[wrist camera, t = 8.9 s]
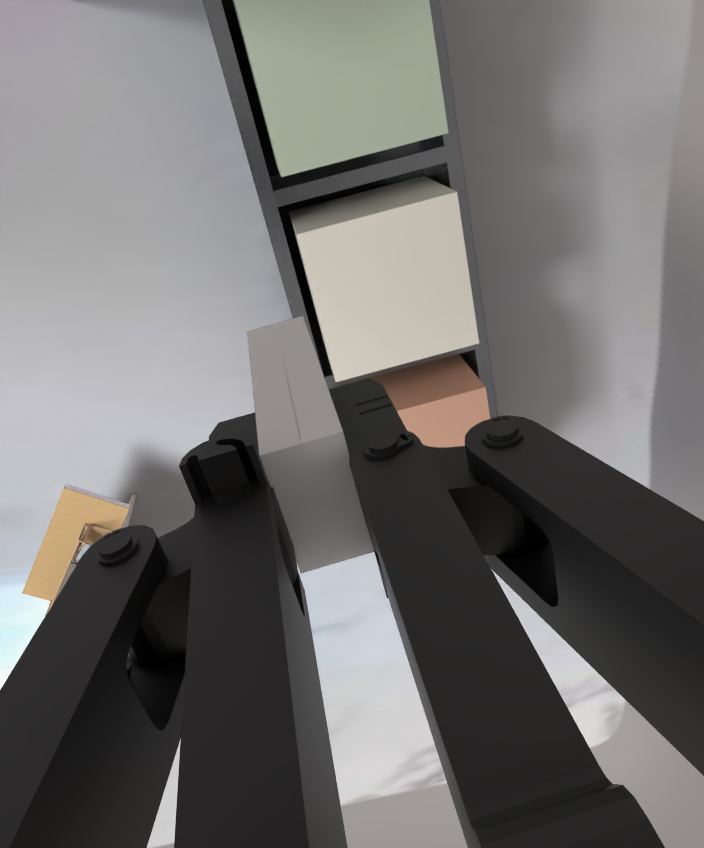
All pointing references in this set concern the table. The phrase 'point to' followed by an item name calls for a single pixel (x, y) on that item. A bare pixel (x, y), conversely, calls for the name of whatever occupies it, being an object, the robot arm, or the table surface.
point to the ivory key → (387, 275)
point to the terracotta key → (437, 400)
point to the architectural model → (73, 537)
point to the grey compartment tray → (429, 154)
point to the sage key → (342, 76)
